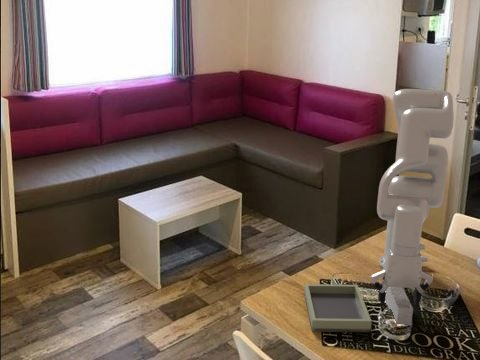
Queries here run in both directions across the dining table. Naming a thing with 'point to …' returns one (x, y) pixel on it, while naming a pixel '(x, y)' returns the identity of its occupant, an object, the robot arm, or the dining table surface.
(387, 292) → the bar
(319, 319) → the case
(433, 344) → the dining table surface
